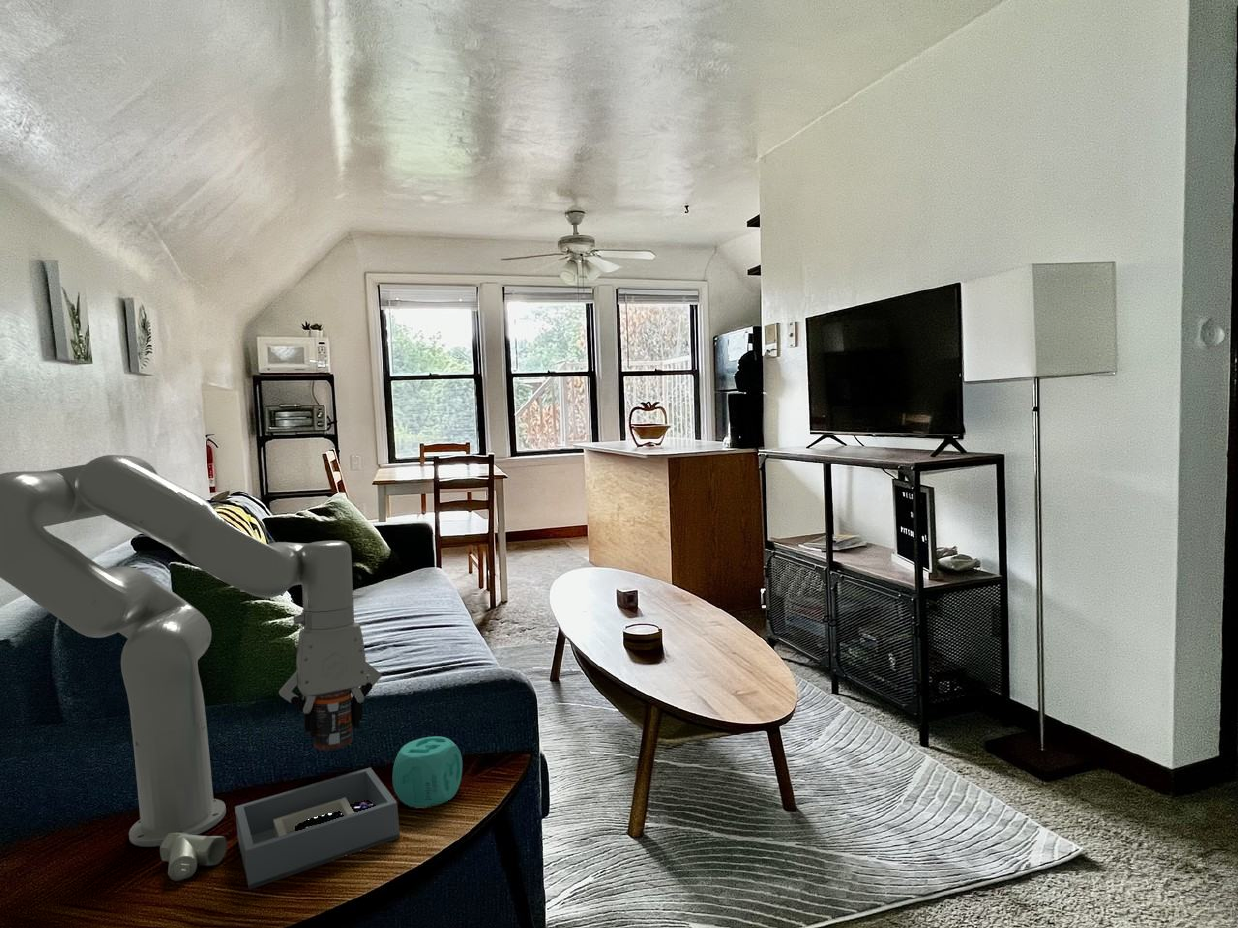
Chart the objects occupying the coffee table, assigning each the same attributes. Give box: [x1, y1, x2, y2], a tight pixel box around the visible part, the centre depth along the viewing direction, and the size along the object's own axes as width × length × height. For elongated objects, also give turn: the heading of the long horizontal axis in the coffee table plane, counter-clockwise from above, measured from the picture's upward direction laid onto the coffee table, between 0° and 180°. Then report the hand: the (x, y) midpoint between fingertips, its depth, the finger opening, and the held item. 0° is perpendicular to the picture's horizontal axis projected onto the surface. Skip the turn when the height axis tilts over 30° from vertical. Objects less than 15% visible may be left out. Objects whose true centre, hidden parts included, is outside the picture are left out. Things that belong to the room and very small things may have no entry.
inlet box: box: [234, 766, 401, 891], centre depth 104 cm, size 15×19×5 cm
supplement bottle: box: [312, 689, 354, 751], centre depth 119 cm, size 6×6×11 cm
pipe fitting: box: [159, 833, 228, 882], centre depth 100 cm, size 8×4×7 cm
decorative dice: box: [391, 735, 463, 808], centre depth 115 cm, size 8×8×8 cm
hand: (333, 729), depth 118 cm, fingers closed on supplement bottle, 6 cm apart
